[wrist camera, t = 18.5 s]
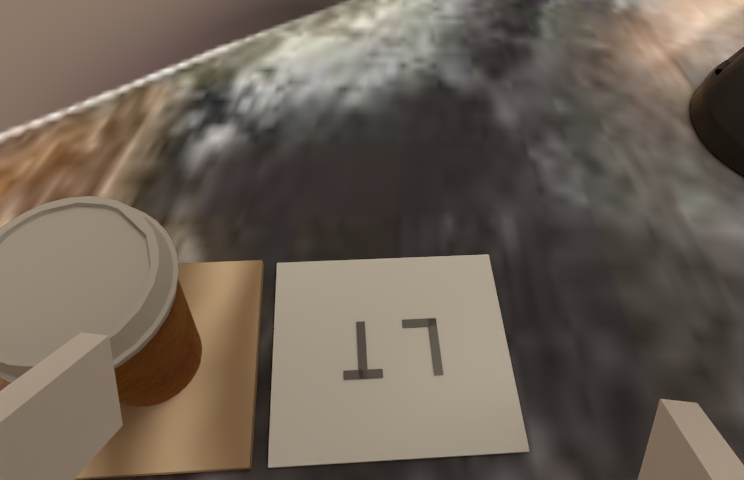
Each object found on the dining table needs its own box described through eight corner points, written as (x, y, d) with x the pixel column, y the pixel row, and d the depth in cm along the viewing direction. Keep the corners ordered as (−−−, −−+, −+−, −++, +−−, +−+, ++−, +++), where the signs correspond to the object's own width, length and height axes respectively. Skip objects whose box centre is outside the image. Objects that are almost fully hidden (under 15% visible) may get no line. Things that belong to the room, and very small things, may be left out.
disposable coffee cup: (240, 404, 31) (183, 336, 21) (79, 456, 30) (-67, 410, 19) (214, 275, 36) (157, 169, 26) (73, 314, 34) (-48, 216, 24)
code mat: (487, 256, 38) (488, 253, 38) (528, 452, 31) (530, 451, 31) (277, 264, 38) (276, 262, 37) (268, 467, 30) (267, 467, 30)
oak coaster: (263, 265, 38) (262, 260, 37) (251, 469, 30) (249, 467, 30) (71, 273, 37) (66, 268, 36) (11, 483, 30) (3, 482, 29)
